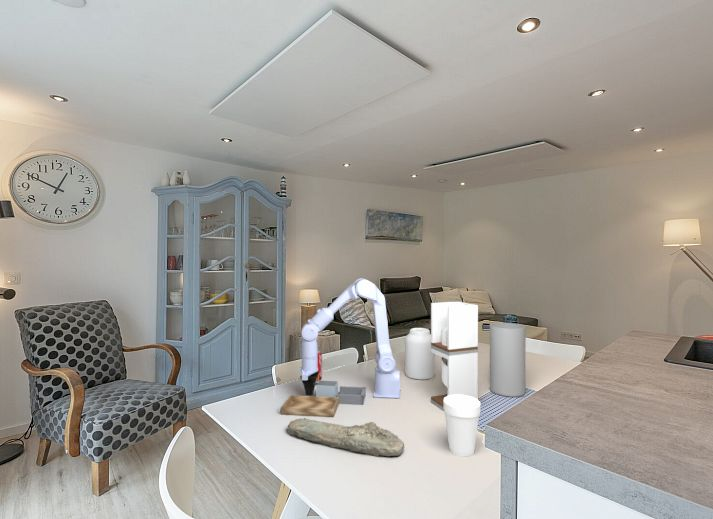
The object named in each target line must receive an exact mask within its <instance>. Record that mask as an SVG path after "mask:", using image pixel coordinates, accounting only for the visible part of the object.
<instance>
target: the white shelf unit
mask: <svg viewBox="0 0 713 519" xmlns="http://www.w3.org/2000/svg"><path fill="white" fill-rule="evenodd" d="M430 334H431V352H432V353H434V354H435V355H436V356H439V357H441V381H442V383H443V384H444V386H445V387H447V393H444V394H439V395H433V396H430V403H432V405H434V406H436V407H437V408H438V409H440V410H441V411H442V412H444V413H445V411H444V409H443V400H444V398H445V397H447V396H449V395H466V396H471V397H473V398H476V399H477V400H479V399H478V398H479V397H478V396H479V390H478V388H479V387H478V386H479V385H478V384H479V380H478V379H479V377H478V376H479V373H478V372H479V363H478V362H479V360H478V359H479V357H478V356H479V336H478V335H479V305H478V304H473V303H467V302H463V301H445V302H444V301H441V302H431V303H430Z"/></svg>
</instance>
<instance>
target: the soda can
mask: <svg viewBox="0 0 713 519" xmlns="http://www.w3.org/2000/svg"><path fill="white" fill-rule="evenodd" d="M317 352H318V372H319V374H318V376H317V379H316V383H318V382H319V381H320V380H322V378H323V354H322V353H321V352H322V351H321V350H320V349H317Z"/></svg>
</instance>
